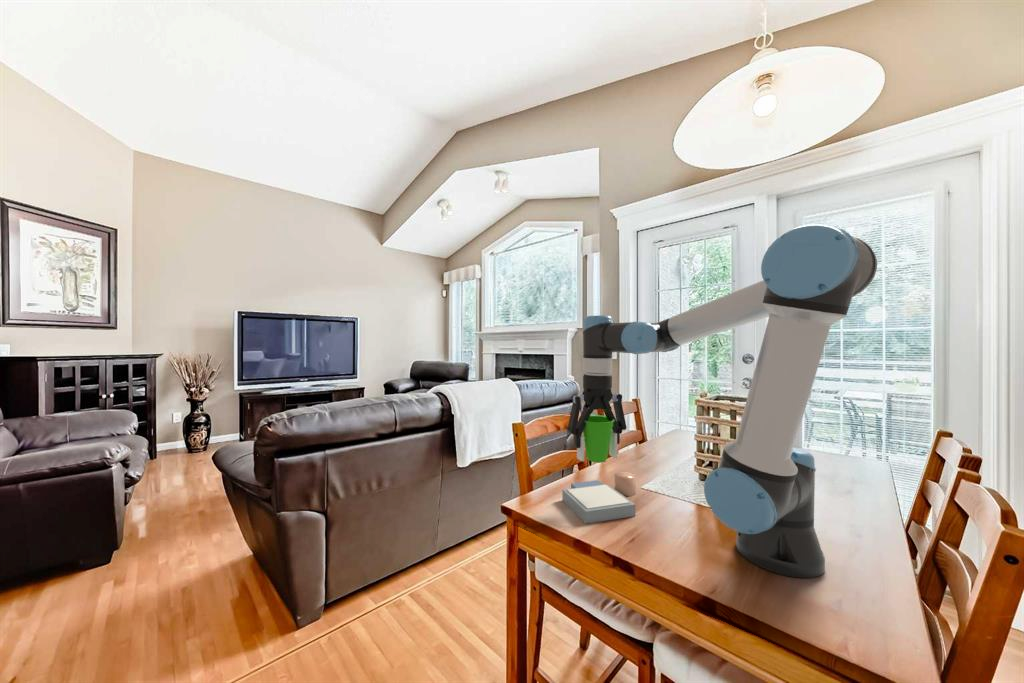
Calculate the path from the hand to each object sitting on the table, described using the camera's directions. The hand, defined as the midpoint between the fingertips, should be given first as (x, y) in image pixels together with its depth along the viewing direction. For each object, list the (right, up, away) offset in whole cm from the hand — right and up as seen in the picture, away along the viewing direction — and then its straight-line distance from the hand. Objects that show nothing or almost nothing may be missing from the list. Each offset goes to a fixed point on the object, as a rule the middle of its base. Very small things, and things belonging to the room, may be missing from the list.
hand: (597, 457), depth 103 cm
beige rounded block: (+11, -13, +11) cm, 20 cm away
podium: (0, -13, 0) cm, 13 cm away
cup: (0, -1, 0) cm, 1 cm away
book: (0, -14, +11) cm, 17 cm away
